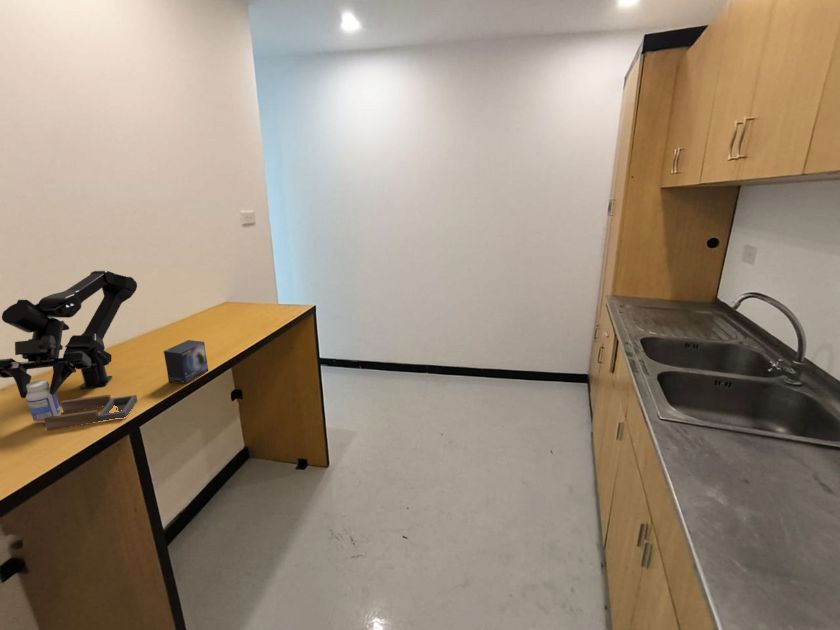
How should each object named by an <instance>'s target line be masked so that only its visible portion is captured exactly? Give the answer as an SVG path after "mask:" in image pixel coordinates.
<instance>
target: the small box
mask: <svg viewBox="0 0 840 630" xmlns="http://www.w3.org/2000/svg"><path fill="white" fill-rule="evenodd" d="M163 355H164V360H165V361H164V362H165V366H166V372H167V379H168V380H167V381H168V383H173V382H177V383H176V384H181V383H186V384H187V382H188V381H189V382H191V381H193V380H194V378H195V377H196V378H198V377H200V376H201V375H200V374H202V373H203V374H205V373H206V372H205V371H207V370H208V371H209V365H208V358H207V351H206V345H205V341H201V340H200V341H199V340H194V339H193V340H192V339H191V340H190V339H188V340H185V341H183V342H181V343H178V344H175V346H172V347H169V348H168V349H165V350H163ZM208 371H207V372H208ZM204 372H205V373H204ZM203 374H202V375H203ZM199 375H200V376H199ZM197 376H198V377H197ZM196 378H195V379H196ZM192 379H193V380H192ZM190 380H191V381H190ZM189 382H188V383H189Z"/></svg>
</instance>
